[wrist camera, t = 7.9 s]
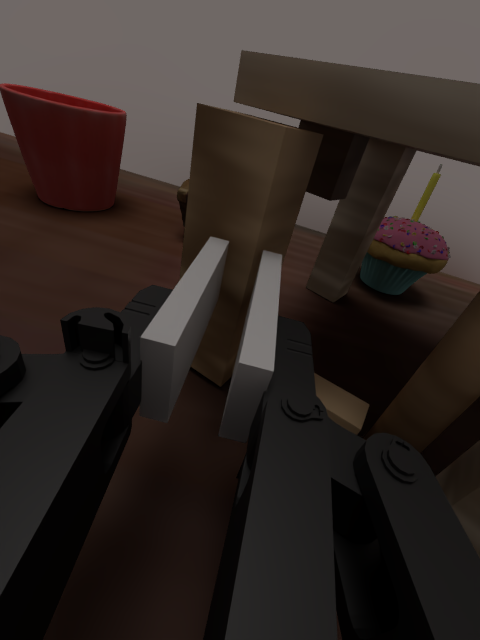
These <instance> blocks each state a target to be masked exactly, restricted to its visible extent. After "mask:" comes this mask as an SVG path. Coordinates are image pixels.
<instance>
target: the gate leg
mask: <svg viewBox="0 0 480 640" xmlns="http://www.w3.org/2000/svg"><path fill="white" fill-rule="evenodd" d="M322 138H323V134H319V133H315V132H312V131H308V130H304V129H300V128H297V127H293V126H289V125H285V124H282V123H278V122H274V121H270V120H267V119H262V118H259V117H255V116H252V115H248V114H243V113H239V112H234V111H230V110H225V109H221V108H217V107H212V106H208V105H204V104H199V103H197V110H196V120H195V130H194V140H193V150H192V161H191V171H190V180H189V191H188V201H187V211H186V221H185V231H184V241H183V251H182V261H181V272H180V280H181V278H182V277H183V275H184V274H185V273H186V271H187V270H188V268H189V267H190V265H191V264H192V262H193V261H194V260H195V258H196V257H197V255H198V254H199V252H200V251H201V250H202V248H203V247H204V245H205V244H206V242H207V241H208V240H209V238H210V237H215V238H219V239H223V240H227V241H229V246H228V251H227V256H226V261H225V267H224V272H223V277H222V282H221V287H220V293H219V298H218V301H217V303H216V306H215V308H214V311H213V313H212V316H211V318H210V320H209V323H208V325H207V328H206V330H205V333H204V335H203V337H202V340H201V342H200V345H199V347H198V350H197V352H196V354H195V357H194V359H193V362H192V364H191V367H192V368H193V369H195V370H196V371H198V372H199V373H201V374H202V375H204V376H205V377H207V378H208V379H210V380H211V381H213V382H214V383H216V384H217V385H219V386H220V387H221V386H222V385H223V384H224V383H225V382H226V381H227V380H228V379H229V378H230V377H231V376H232V375H233V370H234V366H235V362H236V357H237V353H238V349H239V345H240V340H241V336H242V332H243V327H244V323H245V319H246V315H247V310H248V306H249V302H250V299H251V295H252V291H253V287H254V284H255V280H256V276H257V272H258V269H259V265H260V261H261V257H262V254H263V250H266V251H270V252H273V253H277V254H281V255H282V264H283V261H284V258H285V254H286V251H287V248H288V245H289V242H290V239H291V236H292V232H293V229H294V226H295V223H296V220H297V216H298V214H299V211H300V207H301V204H302V201H303V198H304V195H305V192H306V189H307V185H308V182H309V179H310V176H311V173H312V170H313V167H314V163H315V160H316V157H317V154H318V151H319V148H320V145H321V141H322ZM282 264H281V267H282ZM314 377H315V388H316V396H317V397H318V398H319V399H320V400H321V402H322V403H323V404H324V406H325V407H326V410H327V414H328V417H330V418H331V419H332V420H333V421H334V422H335V423H337V424H338V425H340V426H341V427H343V428H345V429H347V430H348V431H350V432H352V433H354V434H356V435H357V434H358V433H359V432H360V431H361V429H362V426H363V423H364V420H365V417H366V414H367V411H368V408H369V404H368V403H366V402H364V401H362V400H361V399H359V398H357V397H355V396H354V395H352V394H350V393H349V392H347V391H345V390H343V389H342V388H340V387H338V386H336V385H335V384H333V383H331V382H329V381H328V380H326V379H324V378H322V377H321V376H319V375H317V374H315V373H314ZM479 397H480V291H479V293H478V294H477V295H476V296H475V298H474V299H473V300H472V301H471V303H470V304H469V305H468V307H467V308H466V309H465V310H464V312H463V313H462V314H461V315H460V317H459V318H458V319H457V320H456V322H455V323H454V324H453V325H452V327H451V328H450V329H449V330H448V332H447V333H446V334H445V336H444V337H443V338H442V339H441V341H440V342H439V343H438V344H437V346H436V347H435V348H434V349H433V351H432V352H431V353H430V354H429V356H428V357H427V358H426V360H425V361H424V362H423V363H422V365H421V366H420V367H419V368H418V370H417V371H416V372H415V373H414V375H413V376H412V377H411V378H410V380H409V381H408V382H407V383H406V385H405V386H404V387H403V389H402V390H401V391H400V392H399V394H398V395H397V396H396V397H395V399H394V400H393V401H392V402H391V404H390V405H389V406H388V407H387V409H386V410H385V411H384V412H383V414H382V415H381V416H380V418H379V419H378V420H377V421H376V423H375V424H374V425H373V426H372V428H371V429H370V430H369V431H368V433H367V434H366V435H365V436H364V438H363V439H365V440H367V439H368V438H369V437H370V436H372V435H373V434H375V433H388V434H391V435H395V436H398V437H399V438H401V439H403V440H404V441H406V442H408V443H409V444H410V445H412V446H413V447H414V448H415V449H416V450H417V451H418V452H419V453H421V452H422V451H423V450H424V449H425V448H426V447H427V446H428V445H429V444H431V443H432V442H433V441H434V440H435V439H436V438H437V437H438V436H439V435H440V434H441V433H442V432H443V431H444V430H445V429H446V428H447V427H448V426H449V425H450V424H451V423H452V422H454V421H455V420H456V419H457V418H458V417H459V416H460V415H461V414H462V413H463V412H464V411H465V410H466V409H467V408H468V407H469V406H470V405H471V404H472V403H473V402H474V401H476V400H477V399H478V398H479Z"/></svg>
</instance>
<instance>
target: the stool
mask: <svg viewBox="0 0 480 640" xmlns="http://www.w3.org/2000/svg"><path fill="white" fill-rule="evenodd" d="M234 102H236V103H240V104H244V105H248V106H251V107H255V108H259V109H263V110H266V111H270V112H274V113H277V114H281V115H285V116H289V117H292V118H296V119H300V120H301V121H300V125H299V128H300V129H304V130H308V131H312V132H315V133H319V134H323V138H322V141H321V145H320V148H319V151H318V154H317V157H316V160H315V163H314V167H313V170H312V173H311V176H310V179H309V182H308V185H307V189H306V192H309V193H311V194H314V195H316V196H319V197H322V198H324V199H327V200H330V201H331V200H340V201H339V203H338V206H337V208H336V211H335V214H334V217H333V219H332V221H331V224H330V226H329V229H328V232H327V234H326V237H325V239H324V242H323V244H322V247H321V250H320V252H319V255H318V257H317V260H316V262H315V265H314V268H313V270H312V273H311V275H310V278H309V280H308V283H307V286H306V288H308V289H310V290H311V291H313V292H315V293H317V294H319V295H320V296H322V297H324V298H326V299H328V300H329V301H331V302H335V301H336V300H338V299H339V298H341V297H342V296H344V295H345V294H347V292H348V290H349V288H350V286H351V283H352V281H353V279H354V277H355V275H356V273H357V271H358V269H359V267H360V265H361V263H362V261H363V259H364V257H365V255H366V253H367V251H368V249H369V247H370V245H371V243H372V241H373V238H374V236H375V234H376V232H377V230H378V228H379V226H380V224H381V222H382V220H383V218H384V216H385V214H386V212H387V210H388V208H389V205H390V204H391V202H392V200H393V197H394V196H395V193H396V191H397V189H398V187H399V185H400V183H401V181H402V179H403V177H404V175H405V173H406V171H407V169H408V167H409V165H410V163H411V161H412V159H413V157H414V155H415V152H416V150H417V151H421V152H425V153H429V154H433V155H437V156H441V157H445V158H449V159H453V160H456V161H461V162H465V163H468V164H472V165H477V166H480V84H477V83H470V82H463V81H456V80H449V79H442V78H435V77H427V76H420V75H413V74H405V73H399V72H392V71H385V70H378V69H370V68H363V67H357V66H349V65H342V64H335V63H328V62H321V61H313V60H307V59H300V58H293V57H285V56H279V55H271V54H264V53H257V52H250V51H243V50H242V51H241V58H240V64H239V71H238V77H237V84H236V89H235V96H234ZM436 479H437V481H438V483H439V484H440V486H441V488H442V490H443V492H444V494H445V495H446V497H447V499H448V501H449V503H450V505H451V506H452V508H453V510H454V512H455V514H456V516H457V517H458V519H459V521H460V523H461V525H462V527H463V528H464V530H465V532H466V534H467V536H468V538H469V539H470V541H471V543H472V545H473V547H474V549H475V550H476V552H477V554H478V556H479V558H480V440H479V441H478V442H477V443H475V444H474V445H473V446H472V447H471V448H469V449H468V450H467V451H466V452H465V453H463V454H462V455H461V456H460V457H459V458H457V459H456V460H455V461H454V462H453V463H451V464H450V465H449V466H448V467H446V468H445V469H444V470H443V471H442V472H440V473H439V474H438V475H437V476H436Z"/></svg>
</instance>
